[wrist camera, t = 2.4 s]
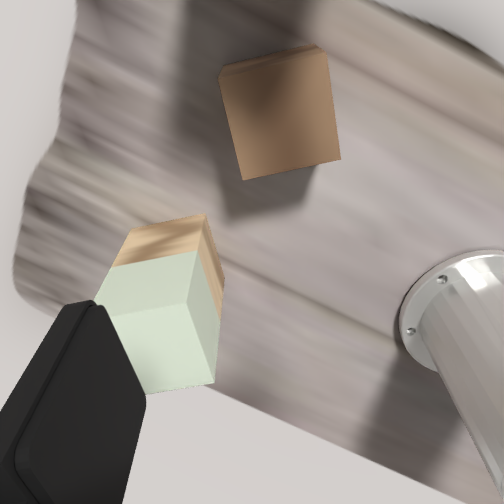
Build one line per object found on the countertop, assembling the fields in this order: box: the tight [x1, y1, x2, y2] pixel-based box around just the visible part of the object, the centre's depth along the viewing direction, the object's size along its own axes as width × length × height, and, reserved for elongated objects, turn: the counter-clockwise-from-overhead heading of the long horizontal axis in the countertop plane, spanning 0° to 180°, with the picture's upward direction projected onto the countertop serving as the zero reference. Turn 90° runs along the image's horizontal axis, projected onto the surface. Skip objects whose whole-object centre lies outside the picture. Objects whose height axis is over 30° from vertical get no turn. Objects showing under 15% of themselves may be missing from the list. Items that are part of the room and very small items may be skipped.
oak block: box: [112, 213, 225, 320], centre depth 35 cm, size 6×6×6 cm
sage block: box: [94, 250, 220, 395], centre depth 29 cm, size 6×6×6 cm
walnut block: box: [218, 44, 341, 180], centre depth 29 cm, size 6×6×6 cm
